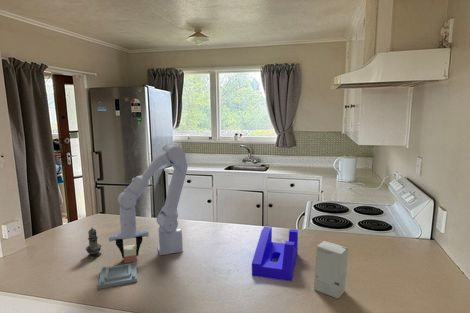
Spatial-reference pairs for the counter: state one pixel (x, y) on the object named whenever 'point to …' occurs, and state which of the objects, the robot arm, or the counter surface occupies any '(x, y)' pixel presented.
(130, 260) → the cream and red block
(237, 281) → the counter surface
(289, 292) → the counter surface
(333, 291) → the skincare box
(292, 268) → the bracket
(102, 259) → the counter surface
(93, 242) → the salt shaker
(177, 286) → the counter surface
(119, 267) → the base plate
